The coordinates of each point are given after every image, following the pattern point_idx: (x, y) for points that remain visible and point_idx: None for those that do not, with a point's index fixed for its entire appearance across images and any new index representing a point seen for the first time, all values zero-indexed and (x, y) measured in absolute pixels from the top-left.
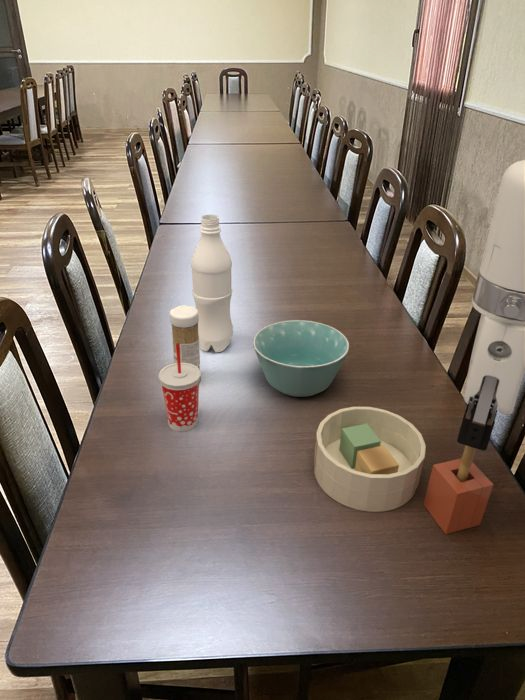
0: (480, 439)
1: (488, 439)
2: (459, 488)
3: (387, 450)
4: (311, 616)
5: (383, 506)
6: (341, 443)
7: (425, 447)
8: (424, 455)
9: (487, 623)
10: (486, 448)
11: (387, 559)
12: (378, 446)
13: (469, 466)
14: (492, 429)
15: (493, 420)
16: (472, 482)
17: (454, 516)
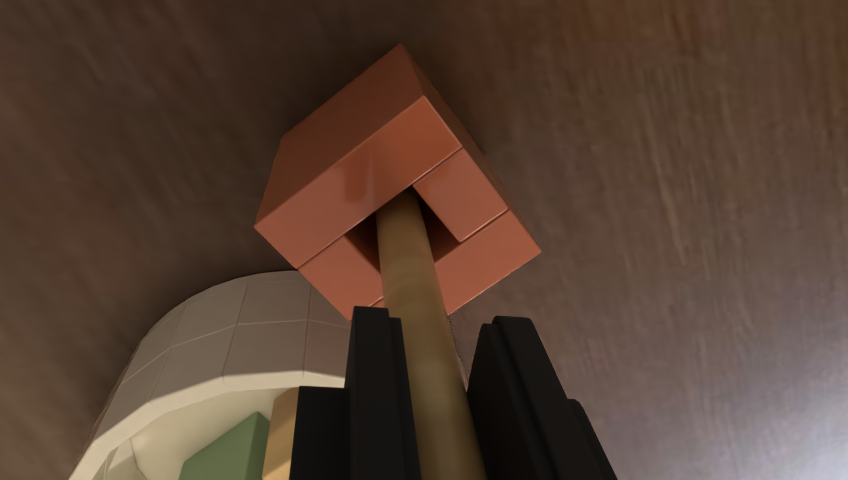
0: (597, 441)
1: (554, 381)
2: (506, 247)
3: (287, 464)
4: (811, 414)
5: (460, 362)
6: None
7: (236, 376)
8: (294, 372)
9: (803, 15)
10: (533, 325)
11: (627, 303)
12: (250, 475)
13: (429, 259)
14: (592, 457)
15: (399, 433)
16: (444, 195)
17: (498, 179)
